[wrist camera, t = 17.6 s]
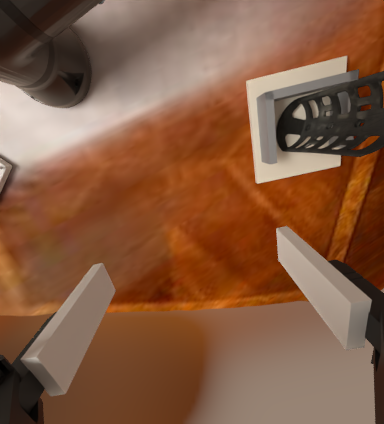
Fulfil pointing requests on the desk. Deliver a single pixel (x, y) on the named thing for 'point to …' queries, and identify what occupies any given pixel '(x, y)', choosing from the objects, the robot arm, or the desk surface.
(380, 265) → the desk surface
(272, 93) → the bay
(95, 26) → the desk surface
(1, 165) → the file sorter
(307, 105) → the holder
